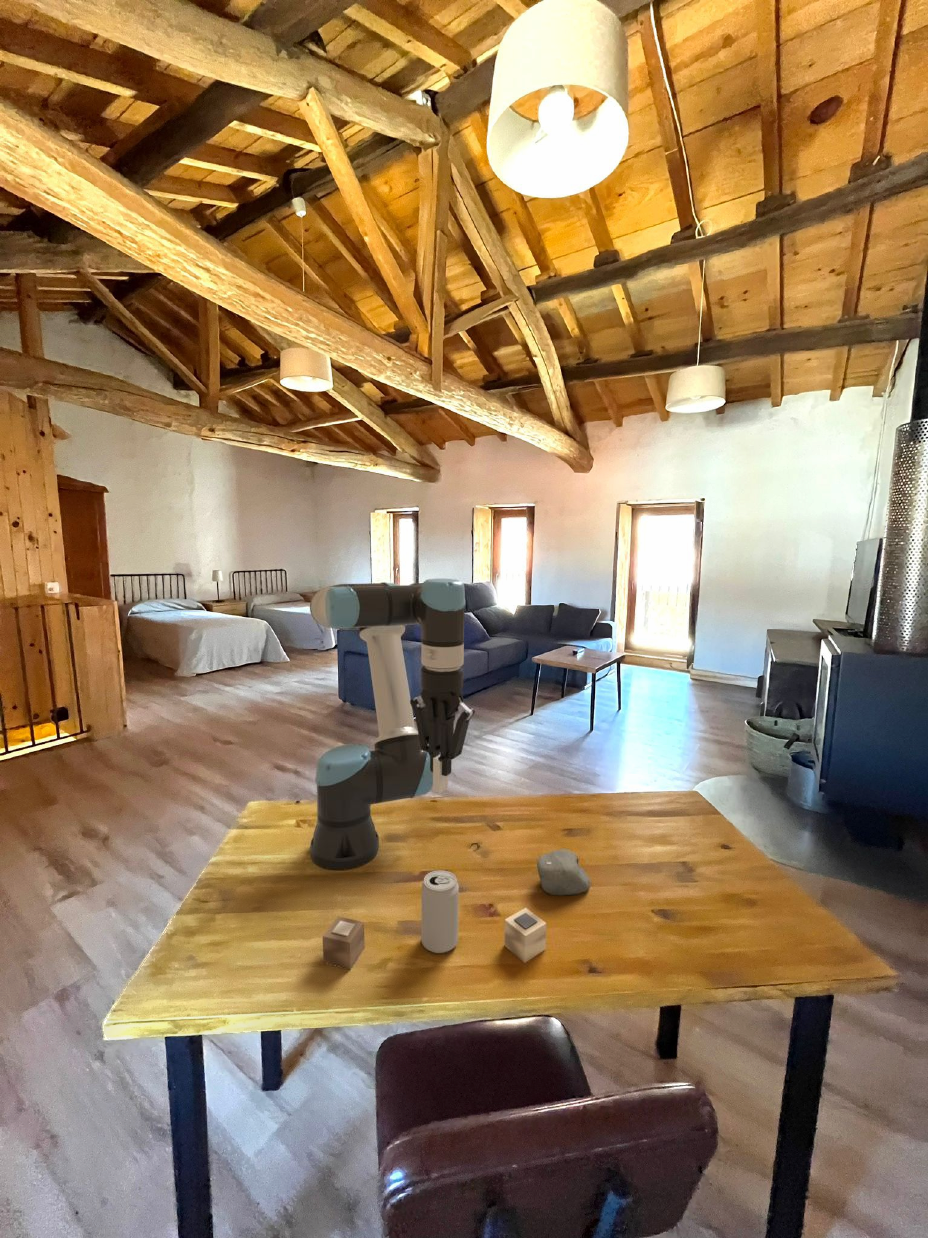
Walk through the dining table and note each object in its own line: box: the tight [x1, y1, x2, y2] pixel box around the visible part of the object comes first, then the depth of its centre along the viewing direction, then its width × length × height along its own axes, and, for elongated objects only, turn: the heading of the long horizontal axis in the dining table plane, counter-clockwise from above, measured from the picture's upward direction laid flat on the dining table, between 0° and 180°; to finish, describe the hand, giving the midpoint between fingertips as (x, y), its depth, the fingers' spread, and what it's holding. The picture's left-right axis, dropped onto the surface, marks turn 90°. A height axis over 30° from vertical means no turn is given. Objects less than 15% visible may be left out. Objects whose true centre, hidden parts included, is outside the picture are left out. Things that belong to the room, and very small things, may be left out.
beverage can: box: [420, 869, 460, 954], centre depth 93 cm, size 6×6×12 cm
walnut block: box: [322, 916, 366, 971], centre depth 91 cm, size 5×5×5 cm
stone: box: [536, 848, 592, 896], centre depth 110 cm, size 9×9×10 cm
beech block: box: [503, 907, 547, 964], centre depth 93 cm, size 5×5×5 cm
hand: (440, 789), depth 100 cm, fingers closed
